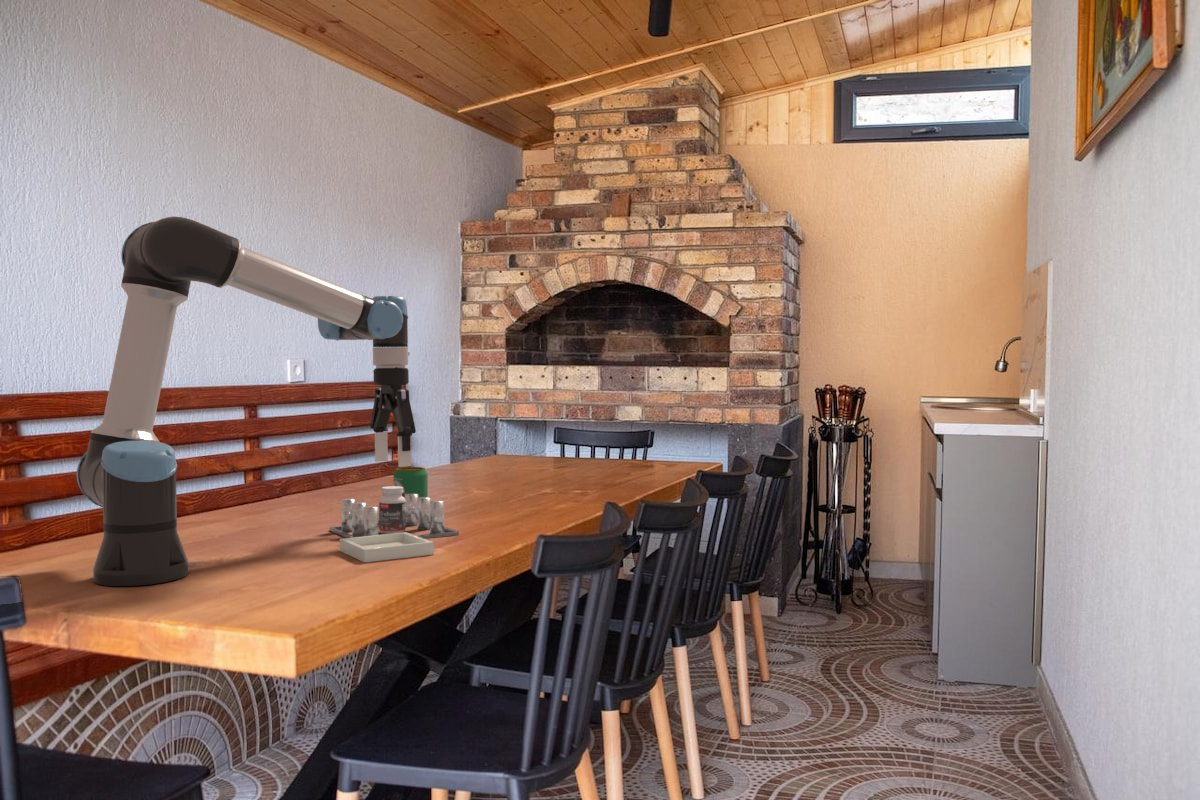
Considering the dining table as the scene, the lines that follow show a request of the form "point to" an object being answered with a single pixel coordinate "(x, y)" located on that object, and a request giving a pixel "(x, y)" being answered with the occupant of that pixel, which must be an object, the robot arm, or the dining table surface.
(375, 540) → the dish
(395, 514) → the pill bottle
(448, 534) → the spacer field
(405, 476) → the beverage can
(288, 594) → the dining table surface
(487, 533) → the dining table surface
